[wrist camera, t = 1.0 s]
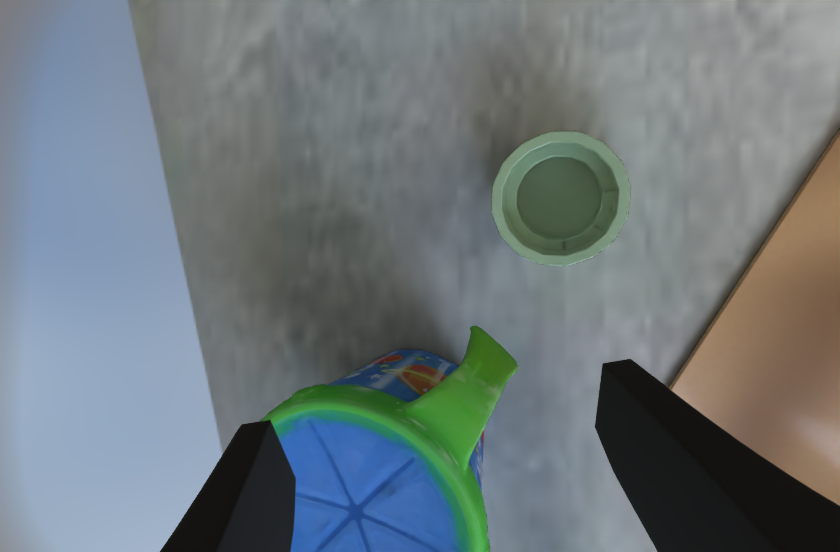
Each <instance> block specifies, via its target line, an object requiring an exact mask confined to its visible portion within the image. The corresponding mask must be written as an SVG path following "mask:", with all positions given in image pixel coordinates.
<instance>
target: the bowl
mask: <svg viewBox="0 0 840 552" xmlns="http://www.w3.org/2000/svg"><path fill="white" fill-rule="evenodd" d="M630 194H631V186H630V183H629V180H628V177H627V174H626V171H625V168H624V165H623V163H622V161H621V160H620V159H619V158H618V157H617V156H616V155H615V153H614V152H613V151H612V150H611V149H610V148H609V147H608V146H607V145H606V144H605V143H604V142H602V141H601V140H598V139H596V138H593V137H591V136H588V135H586V134H583V133H581V132H577V131H550V132H546V133H544V134H542V135H539V136H537V137H535V138H532V139H530V140H527V141H525V142H524V143H522V144H521V145H520V146H519V147H518V148H517V149H516V150H515V151H514V152H513V153H512V154H510V155H509V156H508V157H507V158H506V159H505V160H504V162H503V163H502V165H501V168H500V170H499V172H498V174H497V176H496V179H495V181H494V183H493V186H492V204H491V211H492V215H493V218H494V221H495V223H496V226H497V229H498V232H499V234H500V236H501V237H502V238H503V239H504V240H505V241H506V242H507V244H508V245H509V246H510V247H511V248H512V249H513V250H514V251H515V252H516V253H517V254H519V255H521V256H523V257H525V258H527V259H529V260H531V261H534V262H536V263H538V264H541V265H555V266H566V265H567V266H569V265H572V264H575V263H578V262H581V261H585V260H588V259H591V258H592V257H595V256H596V255H597V254H598V253H600V252H601V251H602V250H603V249H604V248H606V247H607V246H608V245H609V244H611V243H612V242H613V241H614V240H615V239H616V237H617V235H618V233H619V232H620V230H621V228H622V226H623V224H624V223H625V221H626V219H627V217H628V216H627V215H628V214H629V204H630Z"/></svg>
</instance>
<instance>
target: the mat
mask: <svg viewBox="0 0 840 552" xmlns="http://www.w3.org/2000/svg"><path fill="white" fill-rule="evenodd" d="M669 389H670V390H671V391H673V392H674V393H675V394H677V395H678V396H679V397H681V398H682V399H683V400H684V401H686V402H687V403H688V404H690V405H691V406H692V407H694V408H695V409H696V410H698V411H699V412H700V413H702V414H703V415H704V416H706V417H707V418H708V419H710V420H711V421H712V422H714V423H715V424H717V425H718V426H719V427H721V428H722V429H723V430H725V431H726V432H728V433H729V434H730V435H732V436H733V437H734V438H736V439H737V440H739V441H740V442H741V443H743V444H744V445H746V446H747V447H749V448H750V449H752V450H753V451H754V452H756V453H757V454H759V455H760V456H762V457H763V458H765V459H766V460H768V461H769V462H771V463H772V464H774V465H775V466H777V467H778V468H780V469H781V470H783V471H784V472H786V473H787V474H789V475H790V476H792V477H794V478H795V479H797V480H798V481H800V482H801V483H803V484H805V485H806V486H808V487H809V488H811V489H813V490H814V491H816V492H817V493H819V494H821V495H823V496H824V497H826V498H828V499H829V500H831V501H833V502H834V503H836V504H838V505H839V506H840V128H839V130H838V131H837V133H836V134H835V136H834V138H833V139H832V141H831V142H830V144H829V145H828V147H827V148H826V150H825V151H824V153H823V154H822V156H821V157H820V159H819V160H818V162H817V163H816V165H815V166H814V168H813V169H812V171H811V172H810V174H809V175H808V177H807V179H806V180H805V182H804V183H803V185H802V186H801V188H800V189H799V191H798V192H797V194H796V195H795V197H794V198H793V200H792V201H791V203H790V204H789V206H788V207H787V209H786V210H785V212H784V213H783V215H782V216H781V218H780V220H779V221H778V223H777V224H776V226H775V227H774V229H773V230H772V232H771V233H770V235H769V236H768V238H767V239H766V241H765V242H764V244H763V245H762V247H761V248H760V250H759V251H758V253H757V254H756V256H755V257H754V259H753V260H752V262H751V264H750V265H749V267H748V268H747V270H746V271H745V273H744V274H743V276H742V277H741V279H740V280H739V282H738V283H737V285H736V286H735V288H734V289H733V291H732V292H731V294H730V295H729V297H728V298H727V300H726V301H725V303H724V305H723V306H722V308H721V309H720V311H719V312H718V314H717V315H716V317H715V318H714V320H713V321H712V323H711V324H710V326H709V327H708V329H707V330H706V332H705V333H704V335H703V336H702V338H701V339H700V341H699V342H698V344H697V346H696V347H695V349H694V350H693V352H692V353H691V355H690V356H689V358H688V359H687V361H686V362H685V364H684V365H683V367H682V368H681V370H680V371H679V373H678V374H677V376H676V377H675V379H674V380H673V382H672V383H671V385H670V387H669Z"/></svg>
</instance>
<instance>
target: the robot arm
mask: <svg viewBox="0 0 840 552" xmlns="http://www.w3.org/2000/svg"><path fill="white" fill-rule="evenodd" d="M595 428H596V430H597V433H598V435H599V438H600V440H601V443H602V445H603V448H604V450H605V453H606V455H607V457H608V460H609V462H610V464H611V467H612V469H613V471H614V473H615V475H616V477H617V479H618V481H619V483H620V484H621V486H622V488H623V490H624V492H625V494H626V495H627V497H628V499H629V501H630V503H631V504H632V506H633V508H634V510H635V512H636V514H637V515H638V517H639V519H640V521H641V522H642V524H643V526H644V528H645V530H646V531H647V533H648V535H649V537H650V539H651V540H652V542H653V544H654V546H655V548H656V549H657V551H658V552H840V506H839V505H838V504H836V503H834V502H833V501H831V500H829V499H828V498H826V497H824V496H823V495H821V494H819V493H817V492H816V491H814V490H813V489H811V488H809V487H808V486H806V485H805V484H803V483H801V482H800V481H798V480H797V479H795V478H794V477H792V476H790V475H789V474H787V473H786V472H784V471H783V470H781V469H780V468H778V467H777V466H775V465H774V464H772V463H771V462H769V461H768V460H766V459H765V458H763V457H762V456H760V455H759V454H757V453H756V452H754V451H753V450H752V449H750V448H749V447H747V446H746V445H744V444H743V443H741V442H740V441H739V440H737V439H736V438H734V437H733V436H732V435H730V434H729V433H728V432H726V431H725V430H723V429H722V428H721V427H719V426H718V425H717V424H715V423H714V422H712V421H711V420H710V419H708V418H707V417H706V416H704V415H703V414H702V413H700V412H699V411H698V410H696V409H695V408H694V407H692V406H691V405H690V404H688V403H687V402H686V401H684V400H683V399H682V398H681V397H679V396H678V395H677V394H675V393H674V392H673V391H671V390H670V389H669V388H668V387H666V386H665V385H664V384H662V383H661V382H660V381H658V380H657V379H656V378H655V377H653V376H652V375H651V374H649V373H648V372H647V371H646V370H644V369H643V368H642V367H640V366H639V365H638V364H636V363H635V362H634V361H633V360H631V359H627V360H621V361H615V362H609V363H603V366H602V374H601V382H600V390H599V398H598V406H597V415H596V423H595ZM295 492H296V477H295V475H294V473H293V471H292V468H291V466H290V464H289V461H288V459H287V457H286V454H285V452H284V450H283V448H282V445H281V443H280V441H279V438H278V436H277V434H276V431H275V429H274V427H273V425H272V422H271V420H266V421H260V422H254V423H248V424H242V425H241V426H240V428H239V429H238V430H237V432H236V434H235V435H234V437H233V438H232V440H231V442H230V443H229V445H228V447H227V448H226V450H225V452H224V453H223V455H222V457H221V459H220V460H219V462H218V463H217V465H216V467H215V468H214V470H213V471H212V473H211V475H210V476H209V478H208V479H207V481H206V483H205V484H204V486H203V487H202V489H201V491H200V492H199V494H198V495H197V497H196V498H195V500H194V501H193V503H192V504H191V506H190V508H189V509H188V511H187V512H186V514H185V515H184V517H183V518H182V520H181V522H180V523H179V524H178V526H177V528H176V529H175V531H174V532H173V534H172V535H171V536H170V538H169V539H168V541H167V542H166V544H165V545H164V547H163V548H162V549H161V551H160V552H290V551H291V544H292V538H293V531H294V516H295Z"/></svg>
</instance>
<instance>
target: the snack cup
mask: <svg viewBox="0 0 840 552" xmlns="http://www.w3.org/2000/svg"><path fill="white" fill-rule="evenodd" d="M470 330H471V336H470V340H469V344H468V347H467V351H466V353H465V356H464V359H463V362H462V364H461V365H460V366H459V367H458V366H457V365H455V364H454V363H453V362H449V361H447V360H445V359H444V358H442V357H440V356H437V355H435V354H432V353H430V352H426V351H423V350H402V349H400V350H397V351H394V352H390V353H388V354H386V355H383V356H381V357H378V358H376V359H375V360H373V361H371V362H369V363H368V364H367V365H365V366H363V367H361V368H358V369H356V370H354V371H352V372H351V373H349V374H347V375H345V376H343V377H341V378H339V379H338V380H336V381H334V382H332V383H330V384H328V385H324V384H321V385H315V386H312V387H307V388H304V389H301V390H299V391H297V392H295V393H294V394H293V395H292V397H291V398H289V399H287V400H286V401H284V402H283V403H281V404H280V405H279V406H277V407H276V408H275V409H273V410H272V411H271V412H269V413H268V414H267V415H266V416H265V417H264V418H263V419H262V420H261V421H266V420H271V422H272V425H273V427H274V429H275V431H276V434H277V436H278V438H279V441H280V443H281V445H282V448H283V450H284V452H285V454H286V457H287V459H288V461H289V464H290V466H291V468H292V471H293V473H294V475H295V477H296V492H295V516H294V531H293V538H292V544H291V551H290V552H490V545H489V539H488V536H487V532H488V526H487V514H486V511H485V506H484V500H483V496H482V476H483V470H482V463H483V442H484V427H485V425H486V423H487V421H488V419H489V417H490V415H491V413H492V411H493V410H494V408H495V405H496V403H497V401H498V399H499V397H500V395H501V393H502V391H503V389H504V386H505V385H506V383H507V381H508V379H509V378H510V377H511V376H512V375H513V374H514V373H515V372H516V371H517V370H518V365H517V362H516V361H515V360H514V358H513V357H512V356H511V355H510V354H509V353H508V352H507V351H506V350H505V349H504V348H503V347H502V346H501V345H500V344H499V343H497V342H496V341H495V340H494V339H493V338H492V337H491V336H489V335H488V334H487V333H486V332H485V331H484V330H482V329H481V328H479V327H478V326H472V327H470Z"/></svg>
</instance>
